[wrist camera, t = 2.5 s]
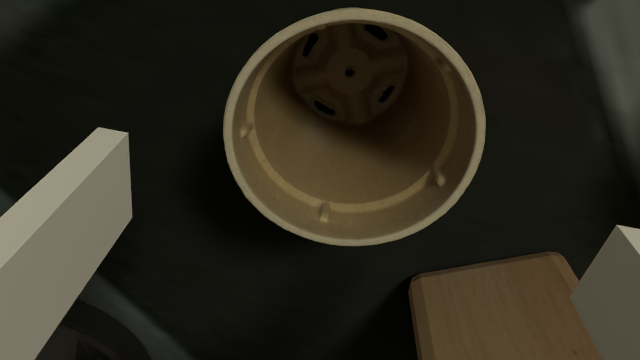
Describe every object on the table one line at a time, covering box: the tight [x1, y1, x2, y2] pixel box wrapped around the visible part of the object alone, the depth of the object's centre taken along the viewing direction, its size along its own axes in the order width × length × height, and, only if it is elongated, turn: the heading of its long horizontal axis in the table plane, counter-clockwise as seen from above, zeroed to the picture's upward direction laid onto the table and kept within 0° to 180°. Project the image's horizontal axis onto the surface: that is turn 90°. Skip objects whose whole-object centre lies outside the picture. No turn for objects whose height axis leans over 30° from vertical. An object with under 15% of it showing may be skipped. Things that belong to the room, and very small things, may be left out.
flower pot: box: [223, 8, 486, 246], centre depth 21 cm, size 9×9×9 cm
